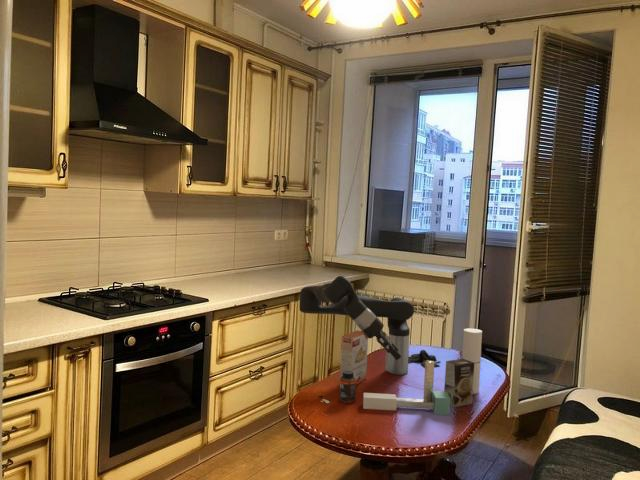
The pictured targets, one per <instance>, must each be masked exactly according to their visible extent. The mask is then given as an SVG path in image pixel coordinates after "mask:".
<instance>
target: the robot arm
mask: <svg viewBox="0 0 640 480" xmlns="http://www.w3.org/2000/svg"><path fill="white" fill-rule="evenodd" d="M322 303H324V304H328V303H330V304H328V305H325V306H323V305H322ZM299 311H300V312H301V313H303V314H311V315H313V314H315V315H338V316H339V315H341V316H348V317H349V318H350V319H351V320H352V321H353V322H354V324H355V325H356V326H357V327H358V329H359V330H360V331H362V332H363V333H364V334H365V335H366V336H367V337H368V339H372V338H374V337H375V338H376V342H377V343H378V344H380V346H381V347H382V348H383V349H384V350H385V371H386V372H387V373H389V374H392V375H398V376H399V375H401V376H402V375H406V374H408V372H409V364H408V358H409V357H410V356H409V354H410V333H411V332H410V327H409V324H408V322H407V321H408V320H410V319H411V318H412V317H413V316H414V314H415V308H414V306H413V304H412V303H411V302H410V301H408V300H406V299H404V298H402V297H394V298H392V299H391V300H383V299H379V298H376V297H372V296H368V295H363V294H362V295H361V294H357V292H356V290H355V289H354V287H353V285H352V283H351V281H350V280H349V278H347V277H345V276H344V275H337V277H335V278H334V279H333V280H332V281H331V282H328V283H325V284H322V285H310V286H305V287H303V288H301V289H300V294H299ZM379 318H385V319H387V328H388V334H387V333H386V332H385V331H384V330H383V328H384V326H385V324H384V323H383V322H382V321H381V320H380V319H379Z"/></svg>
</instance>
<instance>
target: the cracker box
mask: <svg viewBox="0 0 640 480" xmlns="http://www.w3.org/2000/svg"><path fill="white" fill-rule="evenodd" d="M368 344H369V338H368V337H367V336H366V335H365V334H364V333H363V332H362V331H361V330H360V329H359V330H358V329H356V330H355V331H351V332H349V333H348V334H347V333H346V334H344V335H341V342H340V359H339V360H340V363H339V364H340V365H339V379H340V378H341V377H342V376H343V371H346V370H350V371H353V377H355V379H356V386H357V385H359V384H360V382H361V383H363V382H364V381H366V380H367V367H368V348H369V347H368V346H369V345H368ZM365 379H366V380H365ZM363 380H364V381H363ZM338 382H339V386H340V380H339V381H338Z"/></svg>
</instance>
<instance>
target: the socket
mask: <svg viewBox="0 0 640 480" xmlns="http://www.w3.org/2000/svg"><path fill="white" fill-rule="evenodd" d="M432 400H434V402H435V403H434V409H432V410H433V413H434V414H435V415H444V416H445V415H446V416H447V415H450V407H451V405H450V397H449V395H448V393H447V392H446V391H444V390H443V391H442V390H441V391H440V390H439V391H438V390H433V398H432Z"/></svg>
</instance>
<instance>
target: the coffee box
mask: <svg viewBox="0 0 640 480" xmlns="http://www.w3.org/2000/svg"><path fill="white" fill-rule="evenodd" d="M473 378H474V363H473V362H471V361H468V360H465V359H462V358H460V359H451V360H450V359H449V360H446V361H445V373H444V388H443V389H444V390H443V391H446V392H447V393H448V395H449V397H450V407H453V408H456V407H462V406H468V405H472V404H473V395H474V394H473Z"/></svg>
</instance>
